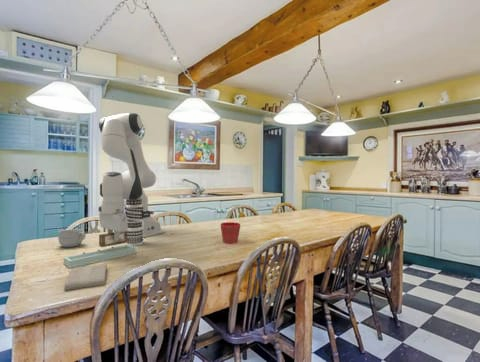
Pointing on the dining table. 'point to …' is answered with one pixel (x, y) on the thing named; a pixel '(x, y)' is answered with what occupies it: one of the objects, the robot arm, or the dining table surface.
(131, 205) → the decorative candle
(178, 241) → the dining table surface
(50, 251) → the dining table surface
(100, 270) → the washcloth
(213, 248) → the dining table surface
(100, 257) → the ledge
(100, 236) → the wooden block
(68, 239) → the teacup
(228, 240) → the flower pot
